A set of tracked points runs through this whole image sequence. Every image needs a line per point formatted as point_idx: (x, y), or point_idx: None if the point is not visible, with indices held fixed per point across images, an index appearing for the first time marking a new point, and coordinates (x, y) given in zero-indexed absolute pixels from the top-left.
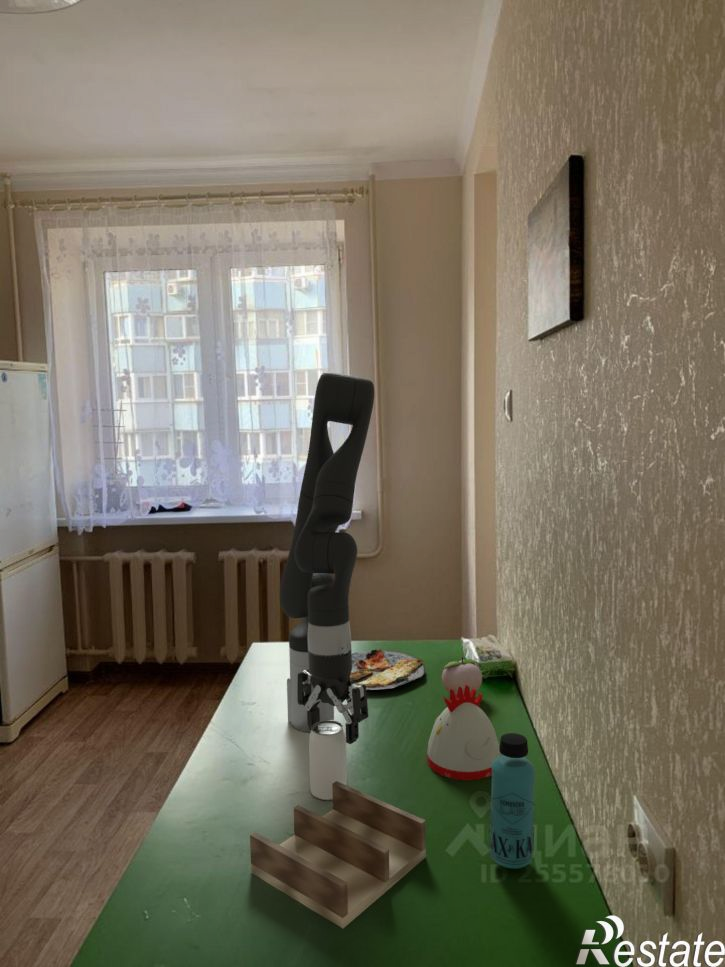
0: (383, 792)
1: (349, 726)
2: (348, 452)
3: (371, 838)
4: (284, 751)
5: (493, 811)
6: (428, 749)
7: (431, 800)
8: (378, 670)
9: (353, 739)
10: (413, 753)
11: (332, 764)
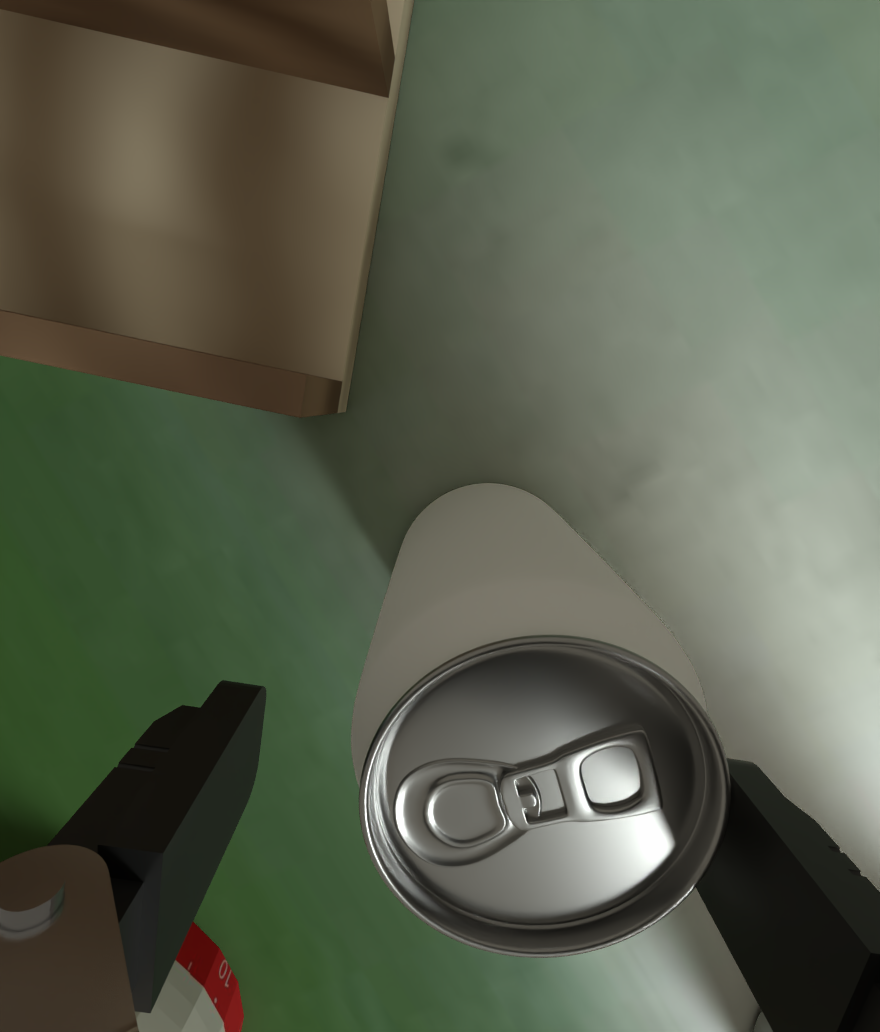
0: (256, 667)
1: (122, 827)
2: None
3: (24, 235)
4: (863, 774)
5: None
6: (180, 1009)
7: (43, 700)
8: None
9: (161, 719)
10: (302, 978)
11: (411, 560)
